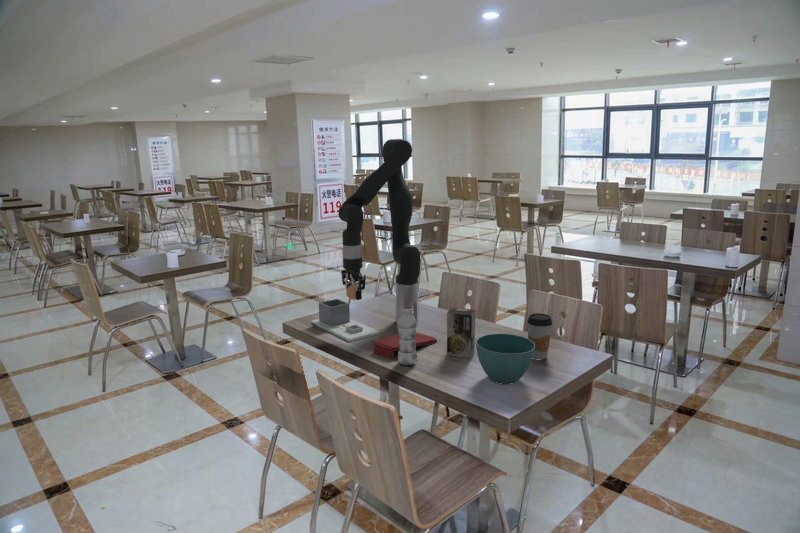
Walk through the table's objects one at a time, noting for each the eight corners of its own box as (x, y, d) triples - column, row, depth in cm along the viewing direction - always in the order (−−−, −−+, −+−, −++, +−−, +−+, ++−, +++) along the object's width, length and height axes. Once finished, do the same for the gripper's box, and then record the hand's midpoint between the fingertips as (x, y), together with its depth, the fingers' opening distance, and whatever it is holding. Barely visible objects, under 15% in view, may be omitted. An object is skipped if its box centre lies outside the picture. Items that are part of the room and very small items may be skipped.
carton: (413, 343, 219) (369, 352, 200) (414, 331, 218) (370, 339, 199) (437, 351, 211) (394, 360, 192) (438, 338, 210) (395, 347, 191)
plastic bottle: (417, 367, 186) (417, 310, 181) (397, 367, 186) (396, 310, 181) (417, 360, 192) (417, 305, 188) (397, 360, 192) (397, 304, 188)
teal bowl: (490, 363, 189) (491, 329, 186) (541, 376, 179) (543, 340, 176) (465, 382, 174) (466, 345, 171) (519, 396, 164) (521, 358, 161)
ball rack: (311, 322, 232) (310, 302, 230) (339, 316, 241) (339, 296, 239) (349, 341, 210) (348, 319, 208) (379, 334, 218) (378, 312, 216)
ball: (363, 297, 219) (362, 282, 218) (360, 301, 213) (359, 286, 212) (348, 297, 220) (347, 282, 218) (345, 301, 214) (344, 286, 213)
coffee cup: (536, 363, 189) (538, 321, 185) (520, 355, 196) (522, 314, 193) (555, 359, 192) (557, 318, 189) (538, 351, 200) (541, 311, 196)
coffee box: (475, 352, 199) (476, 309, 195) (471, 358, 193) (472, 314, 189) (450, 349, 202) (451, 307, 198) (445, 355, 196) (446, 312, 192)
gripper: (371, 257, 209) (372, 300, 213) (350, 251, 220) (351, 292, 224) (354, 260, 205) (356, 303, 209) (334, 254, 216) (336, 296, 220)
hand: (354, 297), depth 216 cm, fingers closed on ball, 6 cm apart
